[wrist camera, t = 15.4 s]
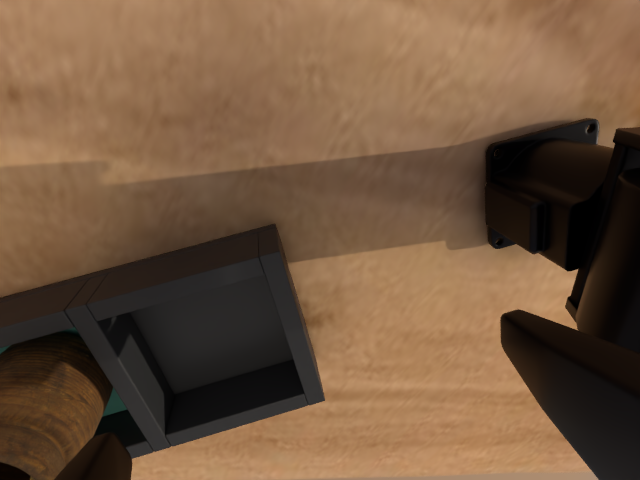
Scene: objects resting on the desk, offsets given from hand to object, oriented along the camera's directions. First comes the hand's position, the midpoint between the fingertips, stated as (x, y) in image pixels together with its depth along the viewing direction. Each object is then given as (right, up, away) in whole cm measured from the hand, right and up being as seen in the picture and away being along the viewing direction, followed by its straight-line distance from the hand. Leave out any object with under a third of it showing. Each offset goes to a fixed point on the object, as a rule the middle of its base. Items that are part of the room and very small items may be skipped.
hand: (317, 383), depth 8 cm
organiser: (-10, -3, +14) cm, 17 cm away
